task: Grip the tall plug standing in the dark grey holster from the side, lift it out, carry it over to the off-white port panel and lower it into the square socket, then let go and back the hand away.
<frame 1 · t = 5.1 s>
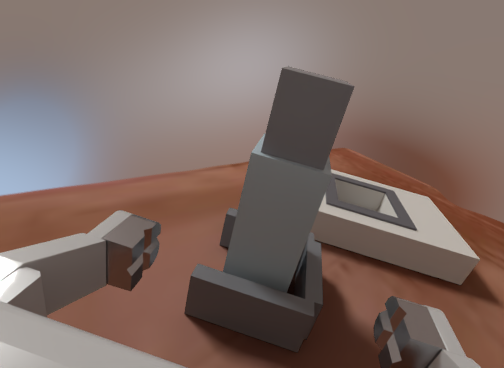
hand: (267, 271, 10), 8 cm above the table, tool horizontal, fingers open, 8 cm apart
plug: (279, 198, 17), in the holster
port: (352, 220, 31), on the table
holster: (253, 284, 20), on the table
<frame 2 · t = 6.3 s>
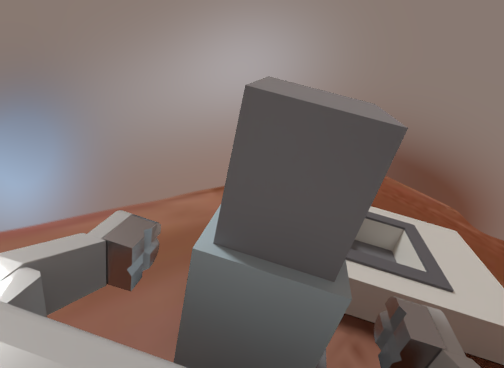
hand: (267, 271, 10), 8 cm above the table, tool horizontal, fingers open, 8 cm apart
plug: (257, 297, 10), in the holster
port: (363, 265, 25), on the table
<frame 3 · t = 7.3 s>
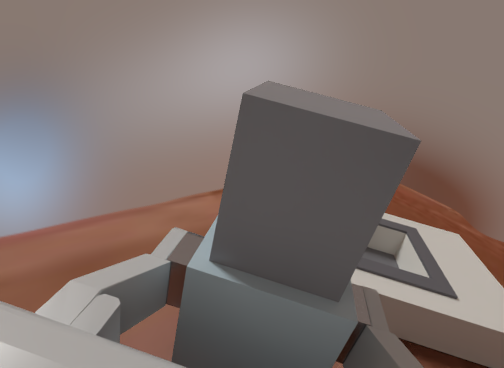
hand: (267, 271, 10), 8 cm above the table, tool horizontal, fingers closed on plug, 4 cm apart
plug: (256, 312, 9), in the holster, touching gripper
port: (365, 270, 24), on the table
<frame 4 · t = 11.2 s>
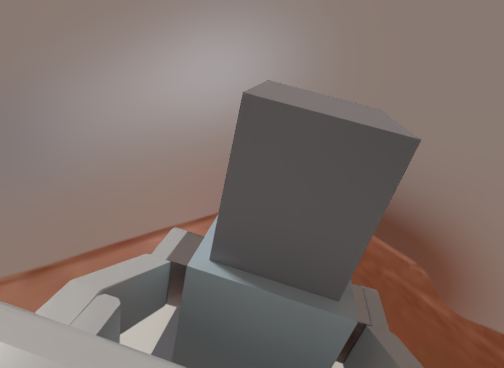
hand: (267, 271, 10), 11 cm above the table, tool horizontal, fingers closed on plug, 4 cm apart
plug: (256, 311, 9), point 10 cm above the table, touching gripper
when the fingers open (10 cm above the table, at t = 11.7 s): plug drops 1 cm, resting on port.
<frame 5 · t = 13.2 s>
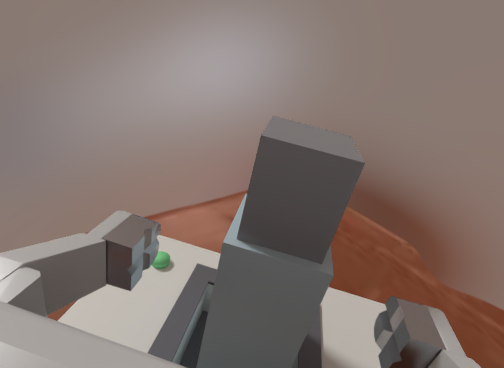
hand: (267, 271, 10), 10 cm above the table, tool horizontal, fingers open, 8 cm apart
plug: (265, 280, 13), in the port
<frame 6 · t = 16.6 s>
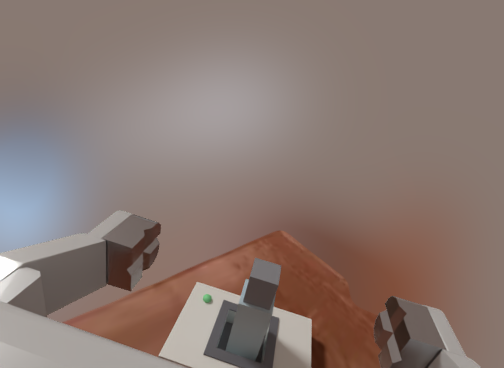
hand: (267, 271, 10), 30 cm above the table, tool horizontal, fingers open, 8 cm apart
plug: (253, 312, 35), in the port
port: (240, 349, 38), on the table
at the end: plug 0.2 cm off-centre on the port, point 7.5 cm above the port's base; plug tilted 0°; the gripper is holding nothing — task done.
